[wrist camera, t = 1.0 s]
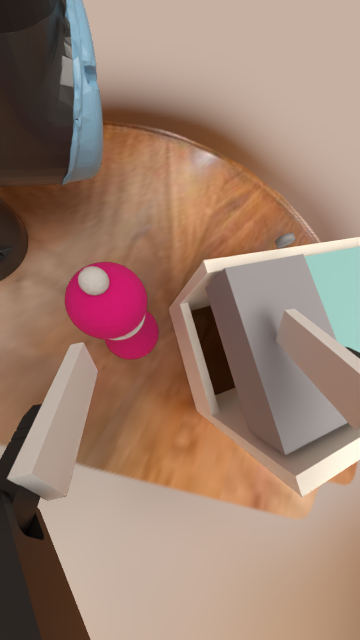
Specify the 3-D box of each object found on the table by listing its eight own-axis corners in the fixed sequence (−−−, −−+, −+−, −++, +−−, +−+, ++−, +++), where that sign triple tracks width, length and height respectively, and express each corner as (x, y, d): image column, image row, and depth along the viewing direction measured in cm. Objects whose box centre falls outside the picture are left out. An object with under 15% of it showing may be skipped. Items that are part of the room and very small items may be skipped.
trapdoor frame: (167, 305, 33) (215, 232, 14) (309, 275, 42) (452, 208, 23) (197, 414, 30) (305, 507, 11) (340, 356, 40) (528, 355, 21)
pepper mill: (156, 314, 31) (146, 220, 12) (161, 358, 29) (157, 327, 10) (112, 319, 30) (26, 225, 11) (114, 364, 29) (13, 342, 9)
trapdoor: (205, 287, 19) (224, 267, 15) (356, 256, 25) (402, 236, 20) (249, 430, 17) (285, 455, 13) (401, 361, 23) (461, 363, 19)
